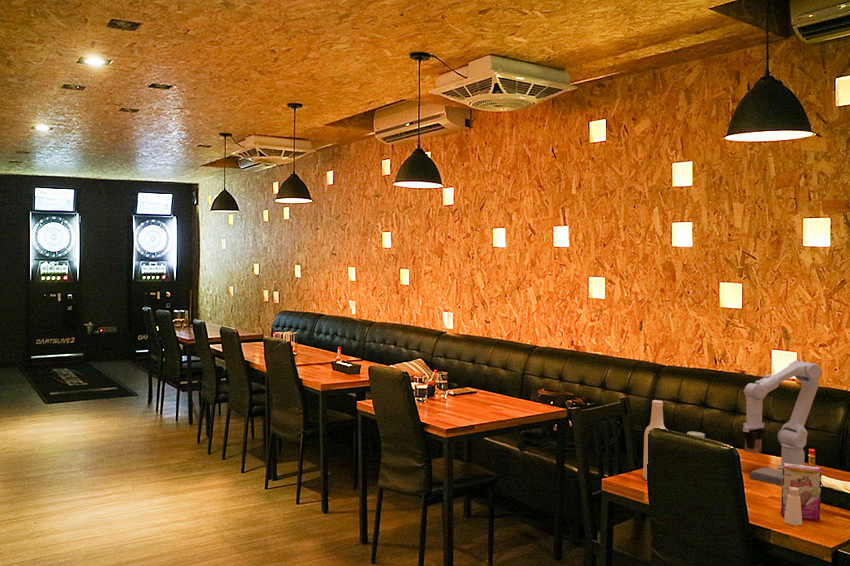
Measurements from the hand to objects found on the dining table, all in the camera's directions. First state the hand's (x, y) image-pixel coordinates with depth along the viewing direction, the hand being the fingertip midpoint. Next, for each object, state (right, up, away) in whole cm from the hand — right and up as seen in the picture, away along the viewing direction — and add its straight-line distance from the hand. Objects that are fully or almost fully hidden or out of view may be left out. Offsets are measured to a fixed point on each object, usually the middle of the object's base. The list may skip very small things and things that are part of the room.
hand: (753, 447), depth 280 cm
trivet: (+2, -10, -11) cm, 15 cm away
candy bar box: (-10, -10, -53) cm, 55 cm away
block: (0, -2, 0) cm, 2 cm away
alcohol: (-44, -9, -15) cm, 48 cm away
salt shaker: (-15, -10, -59) cm, 61 cm away
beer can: (-26, -9, -6) cm, 28 cm away
